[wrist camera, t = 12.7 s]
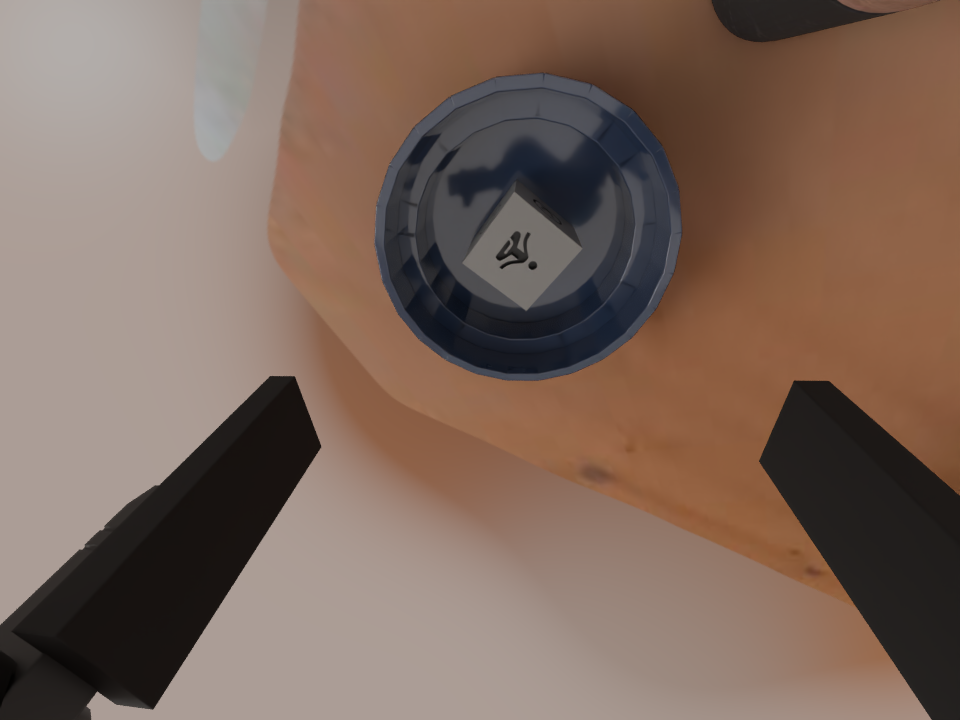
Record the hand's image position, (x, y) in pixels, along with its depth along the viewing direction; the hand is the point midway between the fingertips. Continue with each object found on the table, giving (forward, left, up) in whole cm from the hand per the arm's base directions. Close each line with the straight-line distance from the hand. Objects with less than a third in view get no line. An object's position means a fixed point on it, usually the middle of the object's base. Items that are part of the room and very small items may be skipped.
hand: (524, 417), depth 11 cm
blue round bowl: (0, 0, -20) cm, 20 cm away
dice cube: (0, 0, -19) cm, 19 cm away
